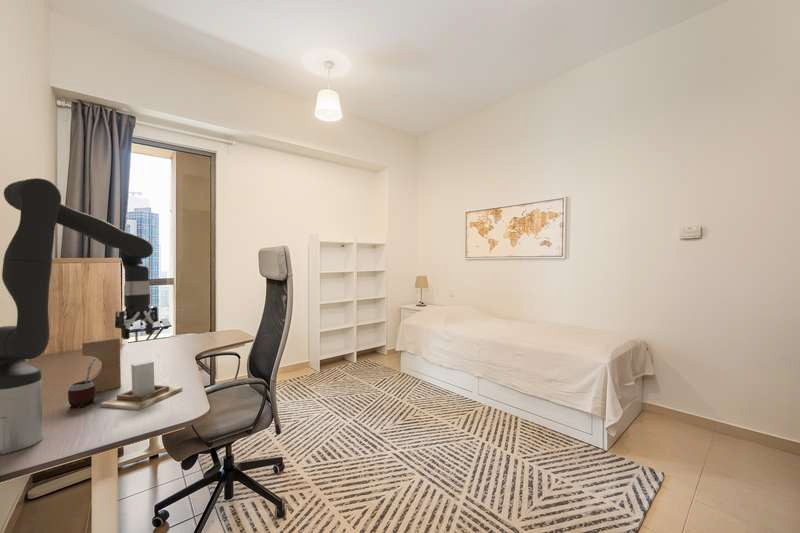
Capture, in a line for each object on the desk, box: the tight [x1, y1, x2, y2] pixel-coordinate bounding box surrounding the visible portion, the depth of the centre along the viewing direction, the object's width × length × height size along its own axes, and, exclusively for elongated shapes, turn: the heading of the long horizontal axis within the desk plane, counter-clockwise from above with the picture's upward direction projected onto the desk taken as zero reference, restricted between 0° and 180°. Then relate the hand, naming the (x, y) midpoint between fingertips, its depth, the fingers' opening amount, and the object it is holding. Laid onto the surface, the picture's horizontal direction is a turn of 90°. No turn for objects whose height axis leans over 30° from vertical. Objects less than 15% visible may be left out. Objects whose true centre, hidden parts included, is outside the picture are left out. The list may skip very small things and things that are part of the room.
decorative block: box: [81, 336, 122, 394], centre depth 132 cm, size 11×6×20 cm, turn 134°
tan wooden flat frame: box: [100, 384, 183, 411], centre depth 123 cm, size 18×16×3 cm
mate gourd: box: [67, 358, 96, 409], centre depth 118 cm, size 8×8×15 cm
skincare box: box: [130, 359, 155, 396], centre depth 123 cm, size 6×4×12 cm
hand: (137, 336), depth 123 cm, fingers open, 8 cm apart
